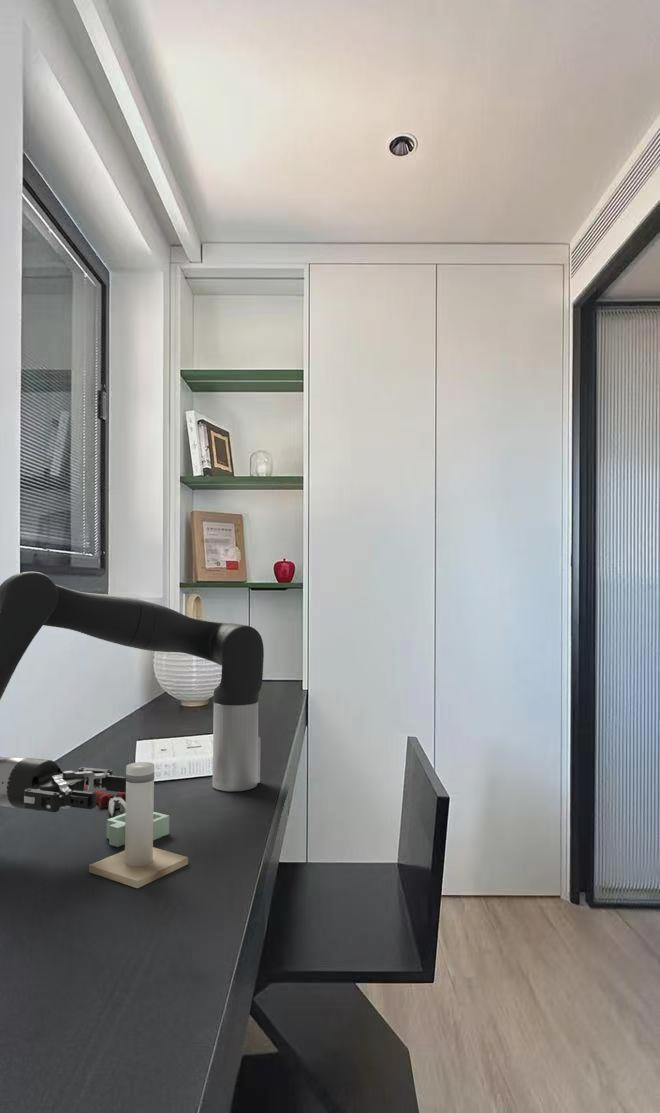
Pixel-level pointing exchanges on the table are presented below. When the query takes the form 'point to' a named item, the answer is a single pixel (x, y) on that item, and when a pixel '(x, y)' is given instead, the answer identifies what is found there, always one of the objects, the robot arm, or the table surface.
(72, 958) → the table surface
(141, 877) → the oak pad
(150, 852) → the thermos bottle
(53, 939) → the table surface
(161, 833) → the collar
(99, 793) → the pliers
